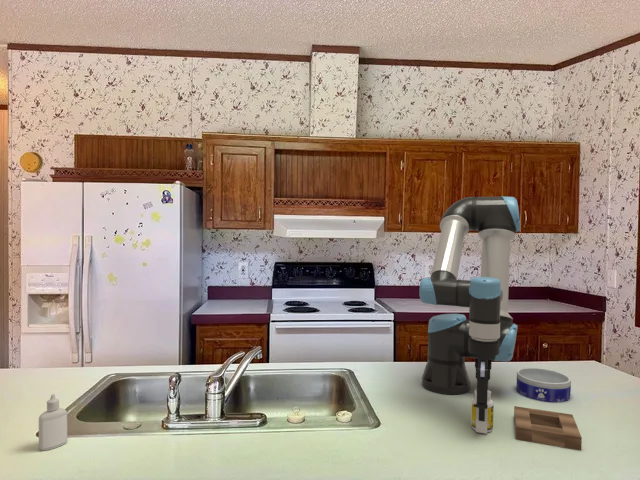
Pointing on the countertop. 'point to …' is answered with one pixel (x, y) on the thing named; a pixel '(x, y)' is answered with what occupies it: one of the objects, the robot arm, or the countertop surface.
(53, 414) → the eye dropper bottle
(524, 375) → the dog bowl
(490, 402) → the supplement bottle
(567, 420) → the walnut socket block
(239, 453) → the countertop surface
